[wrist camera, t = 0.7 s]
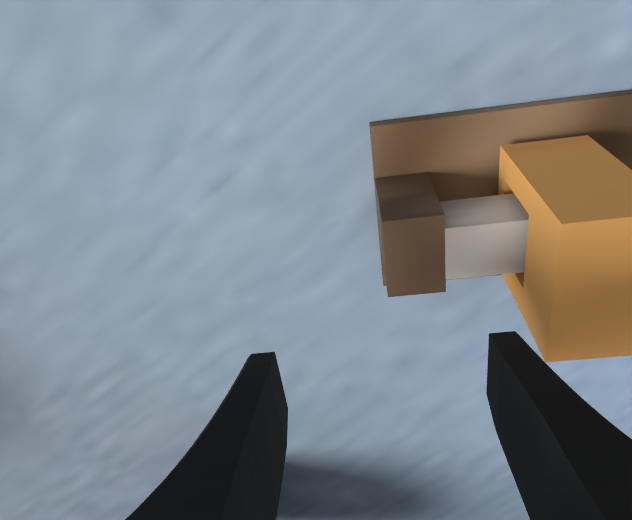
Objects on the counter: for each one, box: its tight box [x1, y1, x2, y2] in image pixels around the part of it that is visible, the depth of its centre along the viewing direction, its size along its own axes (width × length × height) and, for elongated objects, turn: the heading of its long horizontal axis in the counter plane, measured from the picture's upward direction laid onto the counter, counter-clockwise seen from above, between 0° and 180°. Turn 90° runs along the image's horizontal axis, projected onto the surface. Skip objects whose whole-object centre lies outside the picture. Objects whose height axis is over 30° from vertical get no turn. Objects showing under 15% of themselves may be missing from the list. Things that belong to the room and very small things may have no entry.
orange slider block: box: [498, 135, 632, 362], centre depth 18 cm, size 3×5×6 cm, turn 8°
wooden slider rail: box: [370, 90, 632, 297], centre depth 19 cm, size 16×7×4 cm, turn 98°
